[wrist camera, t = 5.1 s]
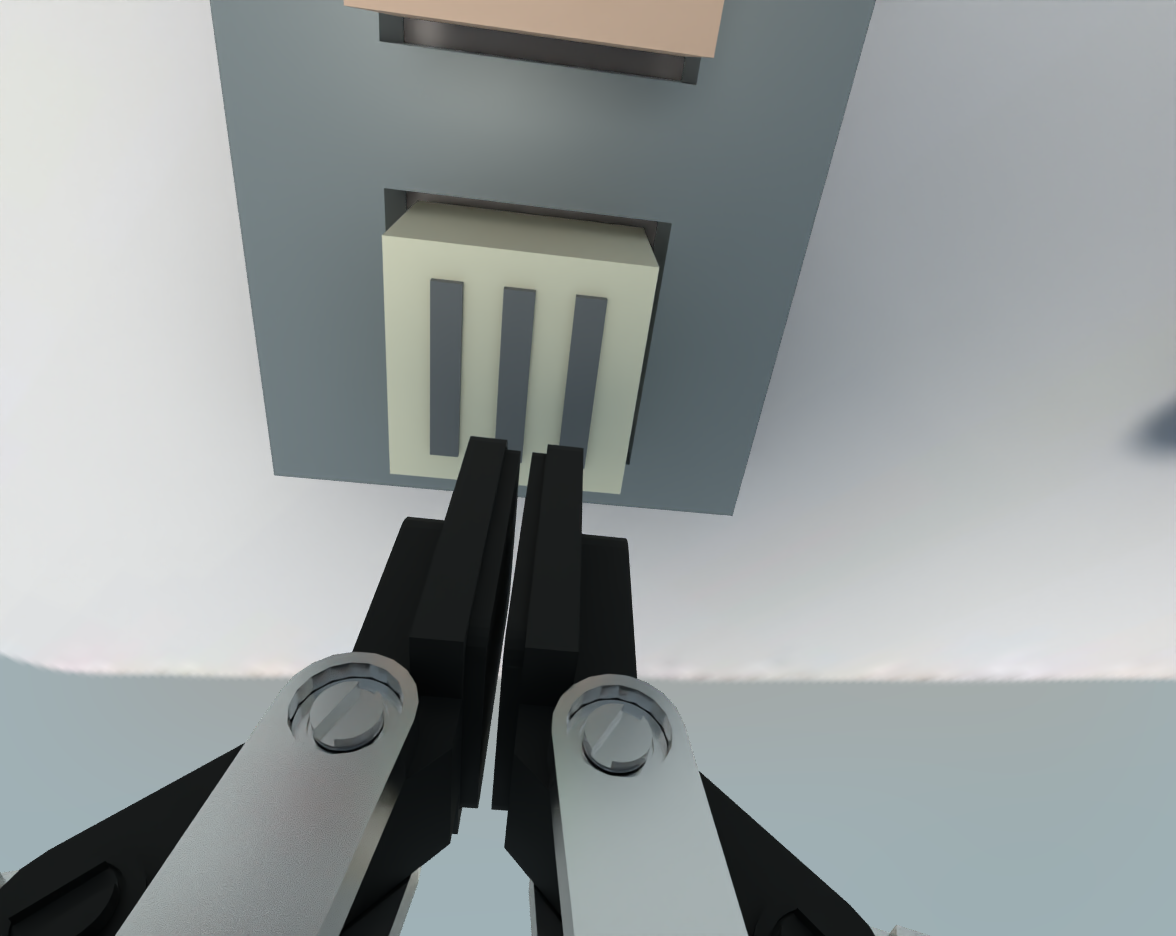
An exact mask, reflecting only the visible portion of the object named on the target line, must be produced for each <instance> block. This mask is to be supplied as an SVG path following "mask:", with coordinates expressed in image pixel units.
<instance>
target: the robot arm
mask: <svg viewBox="0 0 1176 936" xmlns="http://www.w3.org/2000/svg"><path fill="white" fill-rule="evenodd" d="M583 454H584V448H580V447H570V446H561V445H552V444H548V446H547V454H546V453H536V452H532V457H531V464H530V471H529V478H528V485H527V491H526V498H525V505H524V512H523V519H522V526H521V532H520V539H519V546H518V553H517V560H516V567H515V573H514V580H513V587H512V594H511V601H510V608H509V614H508V621H507V629H506V636H505V645H504V654H503V665H502V678H501V692H500V704H499V717H498V730H497V744H496V756H495V769H494V783H493V795H492V809H493V810H507V811H508V817H507V826H506V836H505V846H504V847H505V849H506V850H507V851H508V852H509V854H510V855H511V856H512V857H513V858H514V860H515V861H516V862H517V863H518V865H519V866H520V867H521V868H522V869H523V871H524V872H525V873H526V874H527V876H528V877H529V878H530V882H529V901H530V917H531V932H532V936H929V935H926V934H923V933H919V932H917V931H914V930H910V929H907V928H904V927H901V926H898V925H896V926H895V927H894V928H893V930H892V931H891V932H890V933H888V932H885V931H882V930H879V929H876V928H873V927H870V926H869V925H868V924H867V923H866V922H865V921H864V920H863V919H862V918H861V917H860V916H859V915H858V913H857V912H856V911H855V910H854V909H853V908H852V907H851V906H850V905H849V904H848V903H847V902H846V901H845V900H843V898H841V897H840V896H839V895H838V894H837V893H836V892H835V891H834V890H832V889H831V888H830V887H829V886H828V885H827V884H826V883H825V882H823V881H822V880H821V879H820V878H819V877H818V876H817V875H816V874H814V873H813V872H812V871H811V870H810V869H809V868H808V867H806V866H805V865H804V864H803V863H802V862H801V861H800V860H799V859H797V858H796V857H795V856H794V855H793V854H792V853H791V852H790V851H788V850H787V849H786V848H785V847H784V846H783V845H782V844H781V843H779V842H778V841H777V840H776V839H775V838H774V837H773V836H771V835H770V834H769V833H768V832H767V831H766V830H765V829H764V828H763V827H761V826H760V825H759V824H758V823H757V822H756V821H755V820H754V819H752V818H751V817H750V816H749V815H748V814H747V813H746V812H745V811H743V810H742V809H741V808H740V807H739V806H738V805H737V804H735V803H734V802H733V801H732V800H731V799H730V798H729V797H728V796H727V795H725V794H724V793H723V792H722V791H721V790H720V789H719V788H718V787H716V786H715V785H714V784H713V783H712V782H711V781H710V780H709V779H707V778H706V777H705V776H704V775H703V774H702V773H701V772H699V770H698V767H697V764H696V760H695V757H694V754H693V751H692V747H691V744H690V741H689V737H688V734H687V731H686V727H685V724H684V722H683V720H682V718H681V716H680V714H679V712H678V710H677V708H676V707H675V706H674V704H673V703H672V702H671V701H670V700H669V699H668V698H667V697H666V696H665V695H664V693H662V692H661V691H659V690H658V689H656V688H654V687H653V686H652V685H650V684H648V683H647V682H644V681H641V680H639V679H637V670H636V655H635V640H634V625H633V610H632V595H631V580H630V565H629V550H628V542H627V539H626V538H616V537H606V536H596V535H586V534H582V495H583ZM520 459H521V451H518V450H508V440H505V439H496V438H486V437H477V436H470V439H469V442H468V445H467V448H466V452H465V455H464V458H463V462H462V465H461V468H460V471H459V475H458V478H457V481H456V485H455V488H454V491H453V494H452V498H451V501H450V504H449V507H448V511H447V514H446V517H445V520H435V519H425V518H415V517H407V518H406V519H405V520H404V522H403V524H402V526H401V528H400V531H399V533H398V536H397V538H396V541H395V543H394V546H393V549H392V551H391V554H390V556H389V559H388V561H387V564H386V567H385V569H384V572H383V574H382V577H381V579H380V582H379V585H378V587H377V590H376V592H375V595H374V597H373V600H372V603H371V605H370V608H369V610H368V613H367V615H366V618H365V621H364V623H363V626H362V628H361V631H360V633H359V636H358V639H357V641H356V644H355V646H354V649H353V651H352V652H350V653H344V654H337V655H332V656H330V657H327V658H325V659H322V660H319V661H317V662H314V663H312V664H311V665H309V666H308V667H306V668H305V669H303V670H302V671H300V672H299V673H297V674H296V675H294V676H293V677H292V679H291V680H290V681H289V682H288V683H287V684H286V685H285V686H284V688H283V689H282V690H281V691H280V692H279V694H278V695H277V697H276V698H275V700H274V701H273V703H272V704H271V706H270V707H269V709H268V710H267V711H266V713H265V714H264V716H263V717H262V719H261V720H260V722H259V723H258V725H257V726H256V728H255V729H254V731H253V732H252V734H251V735H250V737H249V738H248V740H247V741H246V743H244V744H242V745H240V746H238V747H237V748H235V749H233V750H231V751H229V752H227V753H225V754H224V755H222V756H220V757H218V758H216V759H214V760H213V761H211V762H209V763H207V764H205V765H204V766H202V767H200V768H198V769H196V770H195V771H193V772H191V773H189V774H187V775H185V776H183V777H182V778H180V779H178V780H176V781H175V782H172V783H171V784H169V785H167V786H165V787H163V788H161V789H160V790H158V791H156V792H154V793H153V794H150V795H149V796H147V797H145V798H143V799H142V800H140V801H138V802H136V803H134V804H132V805H130V806H129V807H127V808H125V809H123V810H121V811H119V812H118V813H116V814H114V815H112V816H110V817H108V818H107V819H105V820H103V821H101V822H99V823H97V824H96V825H94V826H92V827H90V828H88V829H86V830H85V831H83V832H81V833H79V834H77V835H75V836H74V837H72V838H70V839H68V840H66V841H65V842H63V843H61V844H59V845H57V846H55V847H54V848H52V849H50V850H48V851H47V852H45V853H44V854H43V855H41V856H39V857H38V858H36V859H35V860H33V861H32V862H30V863H29V864H27V865H26V866H24V867H23V868H21V869H20V870H17V871H12V872H5V873H0V936H399V935H400V933H401V930H402V927H403V924H404V921H405V918H406V916H407V913H408V910H409V907H410V904H411V902H412V899H413V896H414V893H415V890H416V887H417V884H418V881H419V876H420V871H421V866H422V865H423V864H425V863H426V862H427V861H428V860H430V859H431V858H432V857H433V856H435V855H436V854H437V853H439V852H440V851H441V850H442V849H444V848H445V847H446V846H448V845H449V844H450V841H451V835H452V834H458V829H459V822H460V816H461V811H462V807H467V808H478V804H479V799H480V792H481V786H482V779H483V772H484V765H485V759H486V752H487V746H488V739H489V732H490V726H491V719H492V712H493V705H494V699H495V692H496V685H497V679H498V672H499V665H500V658H501V652H502V645H503V638H504V631H505V625H506V618H507V611H508V604H509V596H510V586H511V573H512V560H513V548H514V535H515V523H516V510H517V497H518V485H519V472H520Z"/></svg>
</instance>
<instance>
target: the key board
mask: <svg viewBox="0 0 1176 936" xmlns="http://www.w3.org/2000/svg"><path fill="white" fill-rule="evenodd" d="M875 1H876V0H724V5H723V10H722V16H721V21H720V26H719V32H718V37H717V43H716V48H715V54H714V58H707V57H685V61H684V67H683V73H682V79H681V81H677V80H670V79H663V78H655V77H648V76H641V75H634V74H626V73H619V72H612V71H605V70H597V69H590V68H583V67H576V66H569V65H561V64H554V63H547V62H540V61H532V60H525V59H518V58H511V57H503V56H496V55H489V54H482V53H475V52H467V51H460V50H453V49H446V48H438V47H431V46H424V45H417V44H409V43H404V31H403V17H398V16H393V15H389V14H384V13H379V12H374V11H369V10H364V9H359V8H354V7H349V6H344V0H210V6H211V13H212V21H213V28H214V35H215V43H216V50H217V57H218V65H219V72H220V80H221V87H222V94H223V102H224V109H225V116H226V124H227V131H228V138H229V146H230V153H231V160H232V168H233V175H234V182H235V190H236V197H237V205H238V212H239V219H240V227H241V234H242V241H243V249H244V256H245V263H246V271H247V278H248V285H249V293H250V300H251V307H252V315H253V322H254V330H255V337H256V344H257V352H258V359H259V366H260V374H261V381H262V388H263V396H264V403H265V410H266V418H267V425H268V432H269V440H270V447H271V455H272V462H273V469H274V475H277V476H288V477H299V478H311V479H322V480H333V481H344V482H356V483H367V484H378V485H390V486H401V487H412V488H424V489H435V490H446V491H454V488H455V485H456V481H457V480H455V479H444V478H433V477H422V476H411V475H400V474H390V459H389V430H388V400H387V370H386V341H385V311H384V282H383V252H382V235H383V234H384V233H385V232H386V231H387V230H388V229H389V228H390V227H391V226H392V225H393V224H394V223H395V222H396V221H397V220H398V219H399V218H400V217H401V216H402V215H403V214H404V213H406V191H412V192H420V193H429V194H437V195H445V196H453V197H461V198H470V199H478V200H486V201H494V202H503V203H511V204H519V205H527V206H535V207H544V208H552V209H560V210H568V211H576V212H585V213H593V214H601V215H609V216H618V217H626V218H634V219H642V220H650V221H658V224H657V230H656V236H655V242H654V248H653V253H654V256H655V258H656V261H657V263H658V266H659V272H658V278H657V284H656V289H655V295H654V301H653V307H652V313H651V319H650V324H649V330H648V336H647V342H646V348H645V353H644V359H643V365H642V371H641V377H640V382H639V388H638V394H637V400H636V406H635V411H634V417H633V423H632V429H631V435H630V440H629V446H628V452H627V458H626V464H625V470H624V475H623V481H622V487H621V493H620V494H611V493H600V492H589V491H583V495H582V503H593V504H605V505H616V506H627V507H639V508H650V509H661V510H673V511H684V512H695V513H707V514H718V515H729V516H732V515H733V512H734V508H735V504H736V501H737V497H738V494H739V490H740V486H741V483H742V479H743V476H744V472H745V469H746V465H747V461H748V458H749V454H750V451H751V447H752V443H753V440H754V436H755V433H756V429H757V425H758V422H759V418H760V415H761V411H762V407H763V404H764V400H765V397H766V393H767V389H768V386H769V382H770V379H771V375H772V371H773V368H774V364H775V361H776V357H777V353H778V350H779V346H780V343H781V339H782V336H783V332H784V328H785V325H786V321H787V318H788V314H789V310H790V307H791V303H792V300H793V296H794V292H795V289H796V285H797V282H798V278H799V274H800V271H801V267H802V264H803V260H804V256H805V253H806V249H807V246H808V242H809V238H810V235H811V231H812V228H813V224H814V220H815V217H816V213H817V210H818V206H819V203H820V199H821V195H822V192H823V188H824V185H825V181H826V177H827V174H828V170H829V167H830V163H831V159H832V156H833V152H834V149H835V145H836V141H837V138H838V134H839V131H840V127H841V123H842V120H843V116H844V113H845V109H846V105H847V102H848V98H849V95H850V91H851V87H852V84H853V80H854V77H855V73H856V70H857V66H858V62H859V59H860V55H861V52H862V48H863V44H864V41H865V37H866V34H867V30H868V26H869V23H870V19H871V16H872V12H873V8H874V5H875ZM526 491H527V486H522V485H518V497H526Z"/></svg>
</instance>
